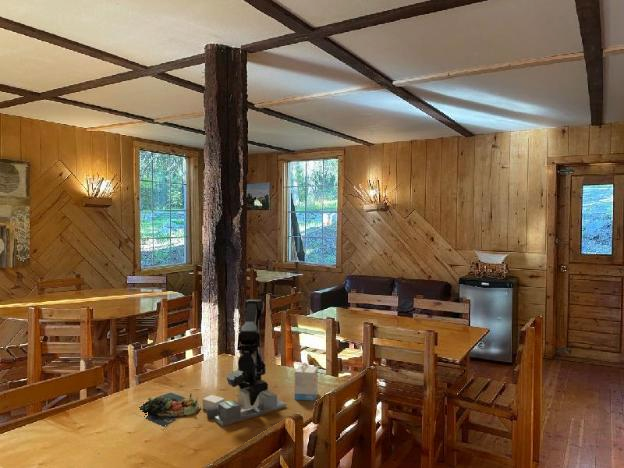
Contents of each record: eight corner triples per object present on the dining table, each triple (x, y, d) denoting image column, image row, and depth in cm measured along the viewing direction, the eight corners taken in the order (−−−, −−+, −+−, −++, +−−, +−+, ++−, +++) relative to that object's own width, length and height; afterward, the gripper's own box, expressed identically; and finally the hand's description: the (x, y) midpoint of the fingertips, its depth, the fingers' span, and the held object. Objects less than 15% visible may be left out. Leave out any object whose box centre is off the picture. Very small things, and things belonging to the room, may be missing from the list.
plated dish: (228, 409, 179) (228, 391, 178) (169, 438, 156) (169, 417, 155) (171, 391, 199) (171, 374, 198) (111, 414, 176) (111, 395, 175)
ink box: (314, 401, 186) (314, 368, 185) (294, 399, 187) (294, 367, 187) (318, 393, 194) (318, 362, 194) (298, 392, 196) (299, 361, 195)
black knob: (205, 416, 171) (205, 408, 171) (214, 413, 173) (214, 405, 173) (210, 419, 168) (210, 411, 168) (220, 416, 171) (220, 408, 171)
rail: (214, 420, 167) (214, 403, 167) (277, 402, 184) (278, 387, 184) (222, 426, 162) (222, 409, 162) (286, 407, 180) (286, 391, 179)
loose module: (238, 405, 172) (238, 389, 172) (251, 401, 176) (251, 385, 176) (244, 409, 168) (244, 393, 168) (258, 405, 172) (258, 389, 172)
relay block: (202, 408, 178) (202, 398, 178) (212, 404, 182) (212, 394, 182) (215, 413, 174) (215, 402, 174) (224, 408, 178) (224, 398, 178)
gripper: (217, 360, 174) (217, 400, 175) (242, 373, 160) (242, 417, 160) (243, 355, 181) (243, 393, 182) (268, 367, 166) (268, 409, 167)
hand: (248, 403), depth 172 cm, fingers closed on loose module, 5 cm apart
